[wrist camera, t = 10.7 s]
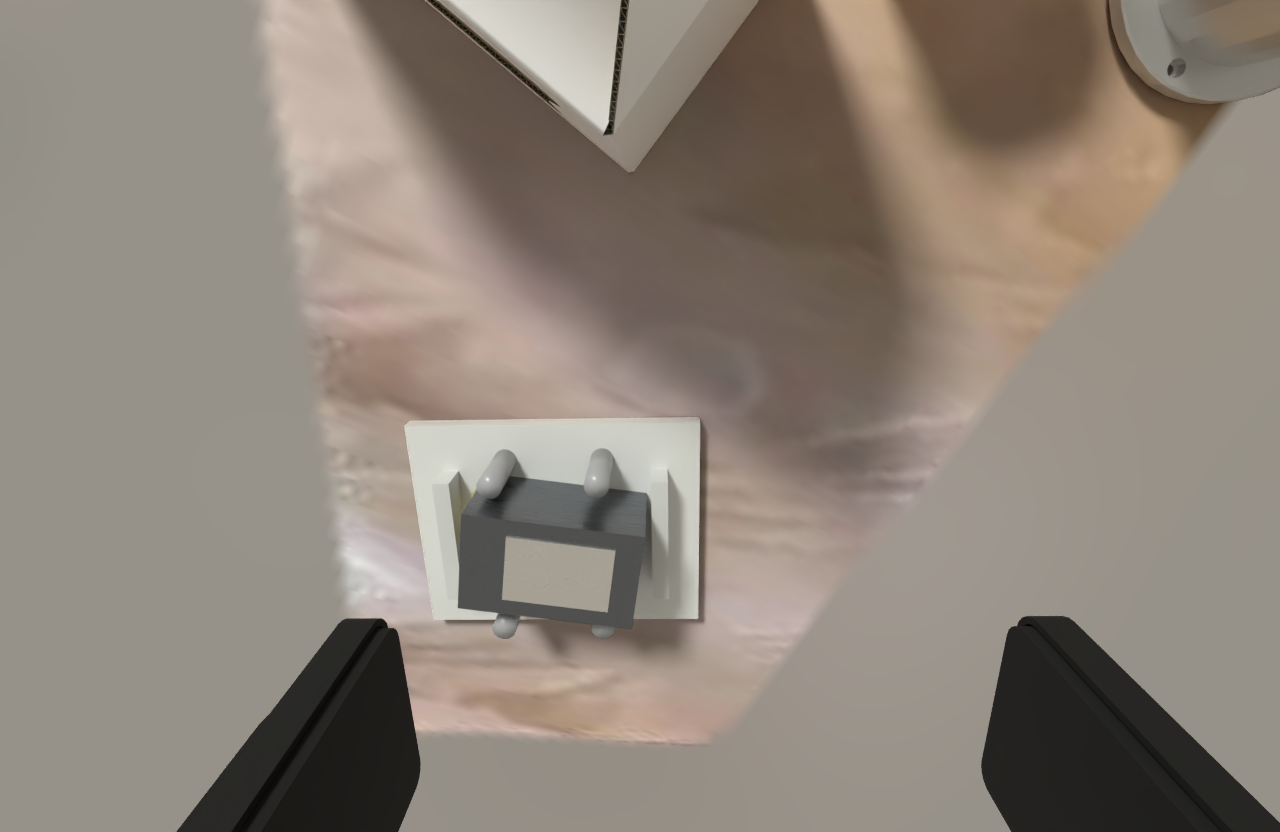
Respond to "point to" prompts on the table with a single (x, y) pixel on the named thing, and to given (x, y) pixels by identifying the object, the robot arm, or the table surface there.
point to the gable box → (604, 58)
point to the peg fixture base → (568, 453)
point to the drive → (553, 552)
